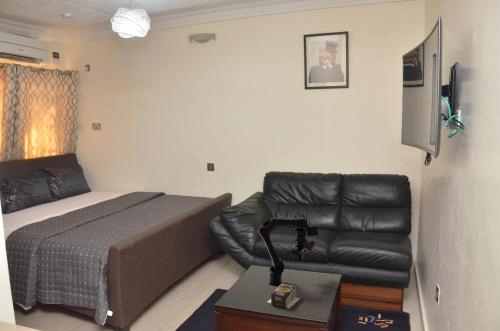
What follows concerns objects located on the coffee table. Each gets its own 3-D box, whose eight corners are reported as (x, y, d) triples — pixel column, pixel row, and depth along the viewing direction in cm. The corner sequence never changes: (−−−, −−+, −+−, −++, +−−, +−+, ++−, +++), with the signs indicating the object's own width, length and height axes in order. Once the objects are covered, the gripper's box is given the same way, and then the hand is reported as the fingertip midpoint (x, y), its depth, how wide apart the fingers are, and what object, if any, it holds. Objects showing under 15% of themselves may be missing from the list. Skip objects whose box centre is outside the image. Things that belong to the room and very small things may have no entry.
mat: (266, 302, 221) (266, 301, 221) (277, 293, 233) (277, 293, 233) (289, 308, 214) (289, 307, 214) (299, 298, 225) (299, 298, 225)
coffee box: (296, 285, 227) (286, 297, 213) (295, 296, 228) (286, 308, 213) (281, 283, 231) (270, 293, 217) (281, 293, 232) (270, 304, 217)
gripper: (307, 243, 236) (306, 268, 237) (318, 235, 251) (318, 259, 253) (290, 240, 241) (290, 264, 243) (302, 233, 257) (302, 256, 259)
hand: (301, 261), depth 249 cm, fingers closed
